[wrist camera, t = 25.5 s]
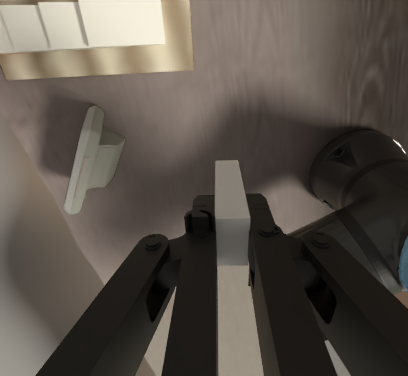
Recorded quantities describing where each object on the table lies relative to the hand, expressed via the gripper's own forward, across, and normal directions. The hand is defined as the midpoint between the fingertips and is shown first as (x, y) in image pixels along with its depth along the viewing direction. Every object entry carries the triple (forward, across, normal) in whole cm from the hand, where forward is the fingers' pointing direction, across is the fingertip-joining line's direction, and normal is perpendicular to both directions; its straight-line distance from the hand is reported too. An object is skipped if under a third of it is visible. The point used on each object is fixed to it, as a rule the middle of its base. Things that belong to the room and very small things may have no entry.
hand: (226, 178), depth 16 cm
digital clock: (+27, +23, +6) cm, 36 cm away
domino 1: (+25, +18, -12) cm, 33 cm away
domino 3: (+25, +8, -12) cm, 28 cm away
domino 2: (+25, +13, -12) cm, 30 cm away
